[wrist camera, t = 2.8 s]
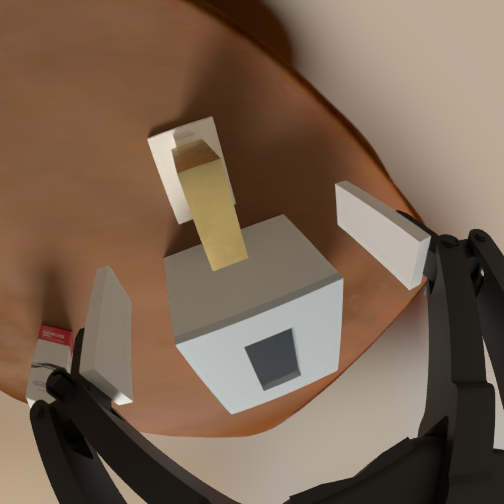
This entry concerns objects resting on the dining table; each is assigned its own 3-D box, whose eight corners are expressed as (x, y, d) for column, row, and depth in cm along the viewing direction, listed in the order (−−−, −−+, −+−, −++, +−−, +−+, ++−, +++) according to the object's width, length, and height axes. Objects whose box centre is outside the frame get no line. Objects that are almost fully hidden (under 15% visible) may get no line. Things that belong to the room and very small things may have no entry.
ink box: (40, 322, 28) (24, 398, 18) (73, 330, 30) (64, 408, 21) (45, 359, 31) (37, 426, 21) (73, 365, 33) (70, 433, 24)
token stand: (147, 137, 22) (145, 145, 19) (211, 116, 23) (220, 120, 20) (178, 220, 27) (182, 240, 24) (233, 200, 28) (245, 217, 25)
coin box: (163, 257, 29) (175, 344, 19) (283, 213, 31) (343, 278, 21) (209, 342, 38) (231, 414, 29) (297, 307, 40) (337, 369, 31)
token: (170, 149, 20) (176, 173, 14) (201, 138, 20) (220, 158, 14) (197, 224, 24) (212, 271, 18) (224, 214, 24) (248, 258, 19)
